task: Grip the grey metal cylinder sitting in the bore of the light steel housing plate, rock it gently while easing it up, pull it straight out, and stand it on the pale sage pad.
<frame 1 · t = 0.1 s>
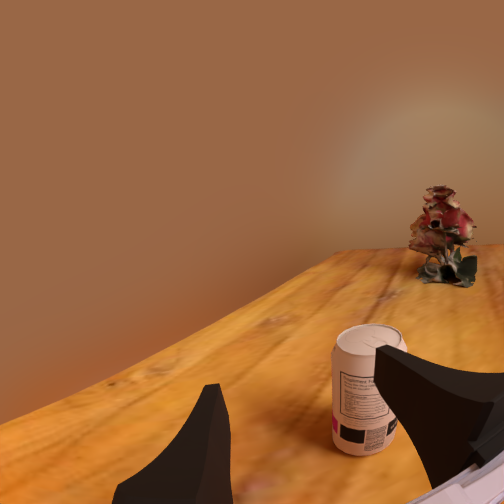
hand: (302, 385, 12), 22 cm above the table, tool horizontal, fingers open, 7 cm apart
supplement can: (363, 437, 29), on the table
rose bouquet: (443, 274, 83), on the table
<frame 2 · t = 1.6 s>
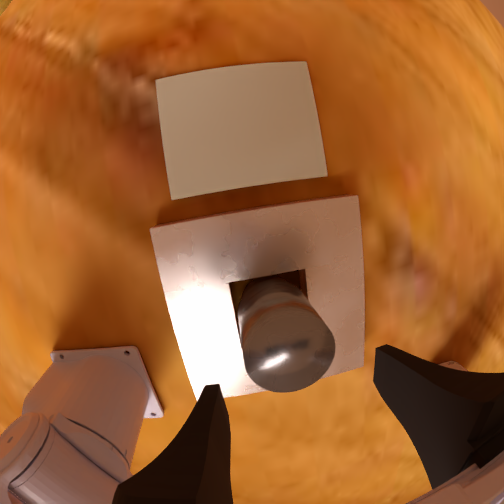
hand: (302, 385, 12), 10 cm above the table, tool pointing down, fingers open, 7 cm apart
housing plate: (268, 300, 22), on the table
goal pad: (240, 124, 19), on the table
grey metal cylinder: (277, 323, 18), in the housing plate
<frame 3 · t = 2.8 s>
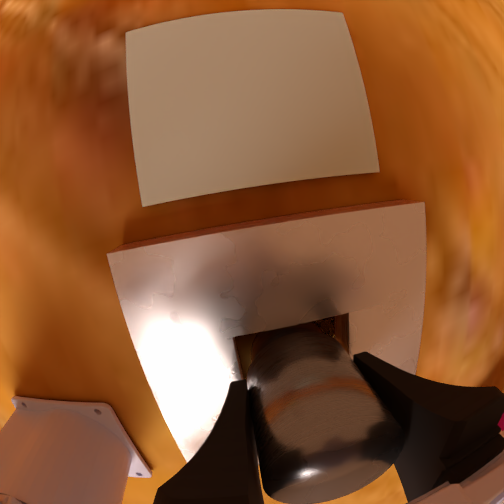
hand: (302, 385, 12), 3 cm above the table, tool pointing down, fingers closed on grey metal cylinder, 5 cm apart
housing plate: (288, 351, 15), on the table
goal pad: (250, 90, 12), on the table
grey metal cylinder: (308, 398, 11), in the housing plate, touching gripper
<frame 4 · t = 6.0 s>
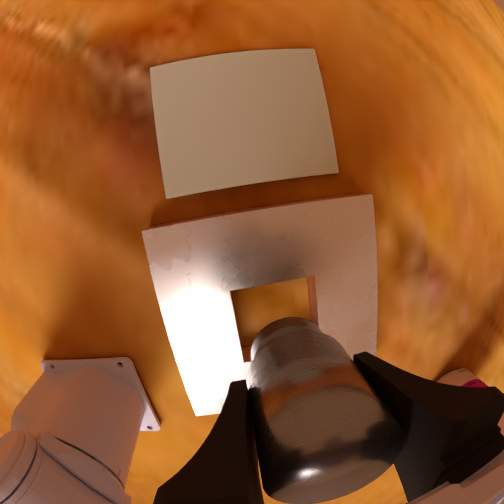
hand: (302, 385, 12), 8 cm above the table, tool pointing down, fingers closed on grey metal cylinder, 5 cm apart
supplement can: (441, 394, 25), on the table
housing plate: (272, 309, 20), on the table
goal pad: (243, 115, 17), on the table
grey metal cylinder: (308, 398, 11), point 9 cm above the table, touching gripper
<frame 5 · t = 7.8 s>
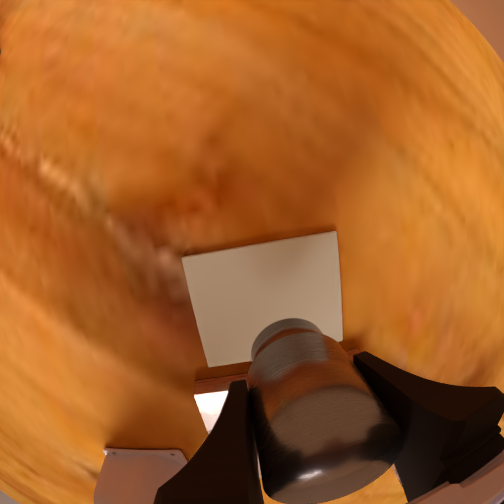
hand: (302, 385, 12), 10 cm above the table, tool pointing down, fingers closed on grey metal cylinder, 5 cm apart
housing plate: (285, 421, 24), on the table
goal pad: (269, 302, 21), on the table
grey metal cylinder: (308, 399, 11), point 11 cm above the table, touching gripper
when the fingers open (5 cm above the table, at t = 9.3 s): grey metal cylinder stays where it is, resting on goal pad.
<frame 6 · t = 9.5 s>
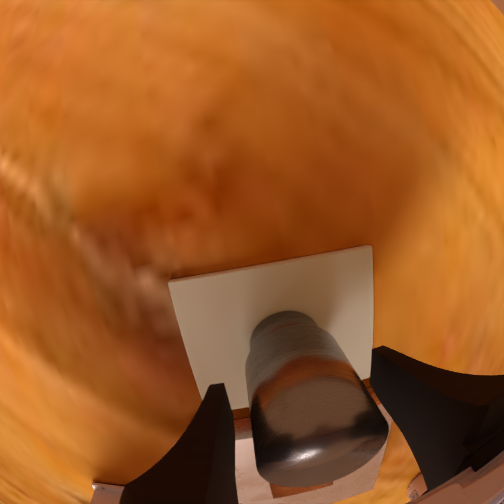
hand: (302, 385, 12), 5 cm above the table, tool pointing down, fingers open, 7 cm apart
supplement can: (430, 473, 24), on the table
housing plate: (297, 462, 19), on the table
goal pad: (283, 337, 16), on the table
grey metal cylinder: (301, 388, 12), on the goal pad
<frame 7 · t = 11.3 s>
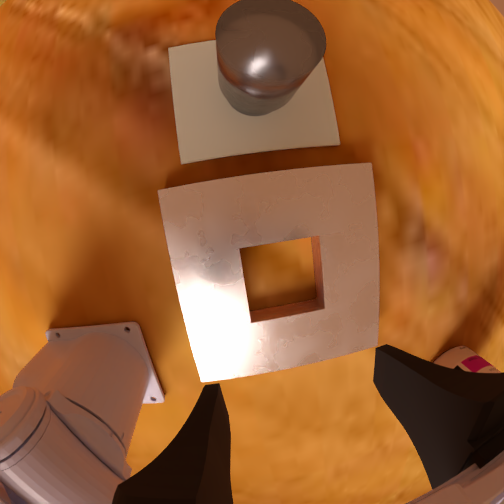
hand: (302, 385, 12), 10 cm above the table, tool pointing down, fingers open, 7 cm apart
supplement can: (442, 373, 26), on the table
housing plate: (279, 272, 21), on the table
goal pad: (253, 91, 18), on the table
grey metal cylinder: (261, 67, 14), on the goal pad
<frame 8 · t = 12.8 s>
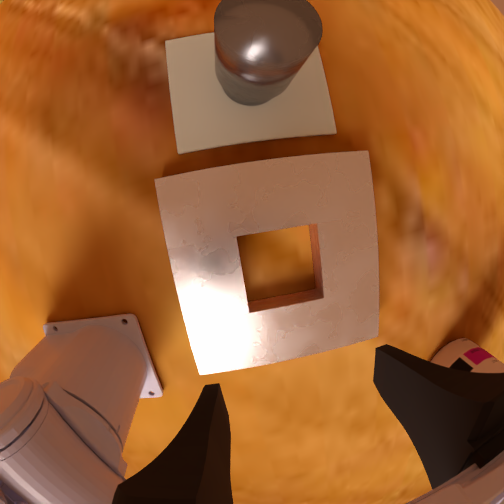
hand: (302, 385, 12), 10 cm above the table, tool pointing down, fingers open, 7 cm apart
supplement can: (444, 366, 26), on the table
housing plate: (277, 261, 21), on the table
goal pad: (249, 82, 18), on the table
grey metal cylinder: (258, 55, 13), on the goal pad
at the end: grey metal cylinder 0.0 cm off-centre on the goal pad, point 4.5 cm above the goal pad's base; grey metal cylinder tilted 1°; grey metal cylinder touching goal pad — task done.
